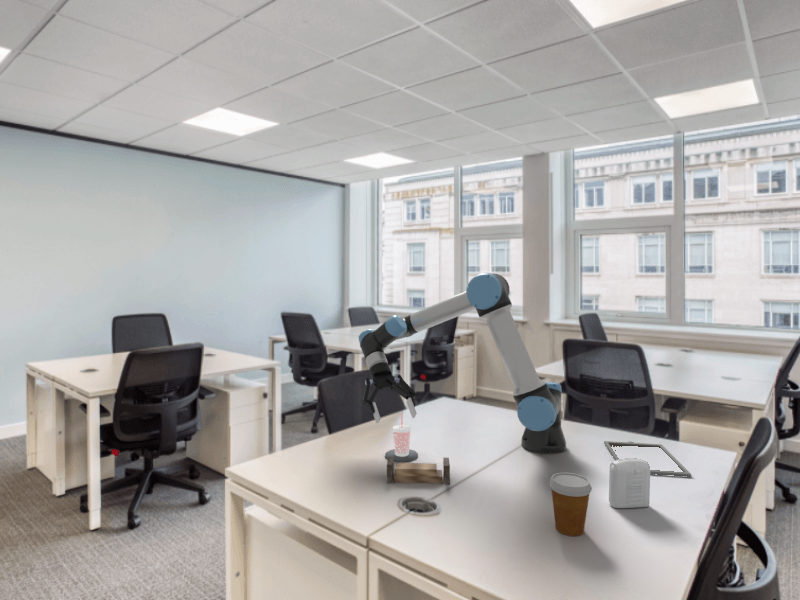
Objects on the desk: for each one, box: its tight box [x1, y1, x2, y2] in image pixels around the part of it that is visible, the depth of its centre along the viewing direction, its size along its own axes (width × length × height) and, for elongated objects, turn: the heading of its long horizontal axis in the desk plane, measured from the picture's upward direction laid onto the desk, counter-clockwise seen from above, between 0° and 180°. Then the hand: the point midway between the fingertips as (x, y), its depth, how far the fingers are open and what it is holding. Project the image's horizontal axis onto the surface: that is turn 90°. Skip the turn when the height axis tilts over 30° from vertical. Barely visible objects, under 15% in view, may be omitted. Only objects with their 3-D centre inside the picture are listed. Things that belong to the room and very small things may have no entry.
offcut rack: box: [386, 457, 451, 485], centre depth 145 cm, size 18×6×6 cm, turn 87°
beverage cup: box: [392, 412, 412, 457], centre depth 165 cm, size 6×6×14 cm
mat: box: [384, 448, 419, 463], centre depth 165 cm, size 11×11×1 cm
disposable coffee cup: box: [548, 472, 593, 537], centre depth 116 cm, size 10×10×12 cm
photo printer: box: [608, 458, 651, 509], centre depth 128 cm, size 10×4×12 cm, turn 98°
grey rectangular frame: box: [603, 440, 692, 478], centre depth 163 cm, size 19×2×30 cm
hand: (396, 418), depth 166 cm, fingers open, 13 cm apart
